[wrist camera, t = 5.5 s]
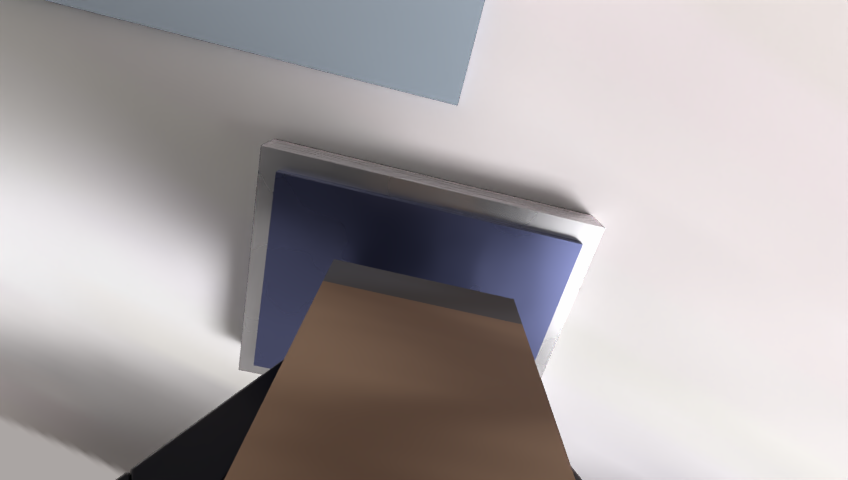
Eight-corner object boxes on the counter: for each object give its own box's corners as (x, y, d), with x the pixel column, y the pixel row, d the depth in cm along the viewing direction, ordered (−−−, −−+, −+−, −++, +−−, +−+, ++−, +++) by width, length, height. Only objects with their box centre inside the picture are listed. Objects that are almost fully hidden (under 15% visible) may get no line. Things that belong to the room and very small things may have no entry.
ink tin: (592, 215, 12) (608, 231, 11) (514, 403, 15) (522, 432, 14) (274, 139, 12) (257, 147, 11) (250, 349, 14) (235, 375, 13)
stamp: (513, 299, 10) (624, 625, 4) (464, 432, 11) (497, 805, 6) (334, 259, 9) (188, 551, 4) (308, 401, 11) (177, 763, 5)
